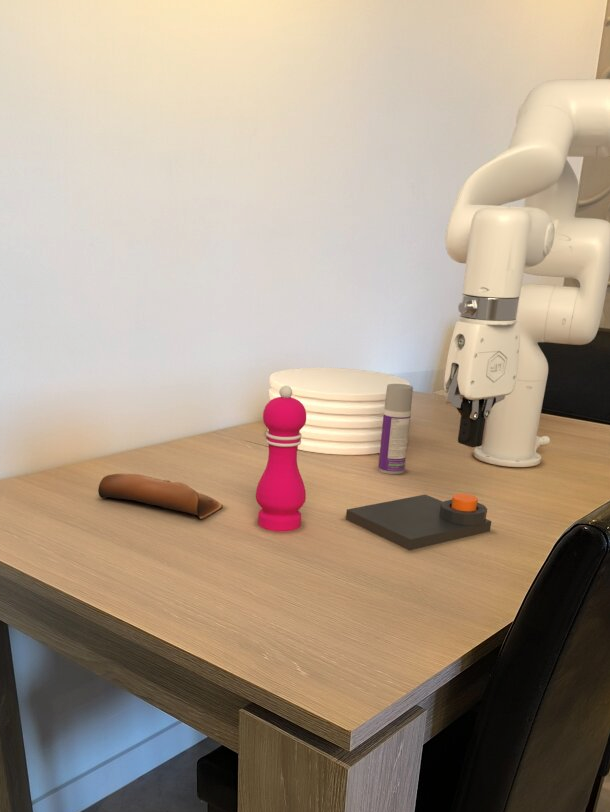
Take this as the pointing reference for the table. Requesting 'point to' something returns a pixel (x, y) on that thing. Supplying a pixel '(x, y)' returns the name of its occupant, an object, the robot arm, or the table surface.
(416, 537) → the dark grey flat block
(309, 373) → the plate stack
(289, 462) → the pepper mill
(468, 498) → the button
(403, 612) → the table surface
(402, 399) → the container
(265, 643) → the table surface
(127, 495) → the sunglasses case
